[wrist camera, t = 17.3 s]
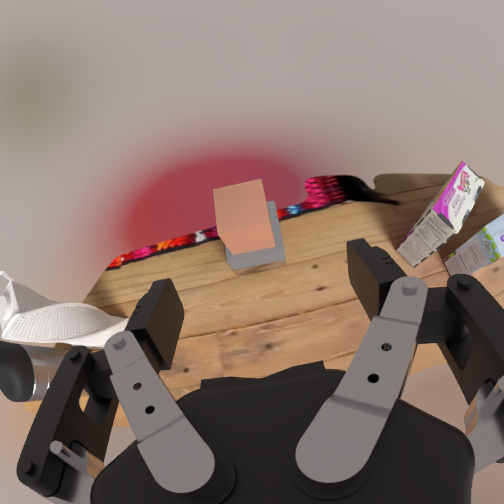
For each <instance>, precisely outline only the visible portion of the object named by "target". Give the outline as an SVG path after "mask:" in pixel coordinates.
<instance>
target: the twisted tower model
mask: <svg viewBox="0 0 504 504" xmlns="http://www.w3.org/2000/svg"><path fill="white" fill-rule="evenodd" d="M1 274H2V275H3V276H5V277H6V278H7V279H8V280H9V281H10V282H9V284H8V285H7V287H6V288H5V290H4V291H3V293H2V294H1V296H0V324H1V328H2V331H3V333H2V338H3V339H7V340H15V341H25V342H39V343H58V342H62V343H68V344H71V345H72V346H79V345H84V346H86V347H88V348H98V349H102V350H103V349H104V345H105V343H106V341H107V340H108V339H109V338H110V337H111V336H112V335H114V334H116V333H118V332H121V331H124V329H125V327H126V325H127V323H128V321H129V318H125V317H120V316H114V315H109V314H107V313H106V312H104V311H102V310H100V309H98V308H96V307H94V306H91V305H88V304H84V303H78V302H64V303H60V302H55V301H51V300H48V299H46V298H44V297H43V296H41V295H40V294H38V293H36V292H34V291H33V290H31V289H29V288H28V287H25V286H24V285H22V284H20V283H18V282H17V281H15V280H13V279H12V278H10V277H9V276H8V275H7V274H6V273H5V272H4V271H0V275H1Z"/></svg>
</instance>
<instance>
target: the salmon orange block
mask: <svg viewBox="0 0 504 504" xmlns="http://www.w3.org/2000/svg"><path fill="white" fill-rule="evenodd" d="M213 196H214V205H215V214H216V224H217V233H218V235H219V237H220V238H221V239H222V241H223V242H224V244H225V245H226V246H227V248H228V249H229V251H230V252H231V253H232V255H236V254H241V253H246V252H252V251H257V250H262V249H267V248H272V247H276V246H275V241H274V236H273V231H272V225H271V220H270V215H269V210H268V205H267V201H266V197H265V193H264V188H263V184H262V180H261V179H258V180H253V181H248V182H244V183H239V184H235V185H230V186H226V187H221V188H217V189H213Z"/></svg>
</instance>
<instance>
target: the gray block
mask: <svg viewBox="0 0 504 504" xmlns="http://www.w3.org/2000/svg"><path fill="white" fill-rule="evenodd" d="M267 205H268V210H269V215H270V220H271V225H272V231H273V236H274V241H275V246H276V247H272V248H267V249H262V250H257V251H252V252H246V253H241V254H236V255H232V253H231V252H230V251H229V249H228V248H227V246H226V245H225V249H226V257H227V263H228V264H229V265H230V266H231V268H232V269H233V270H235V269H240V268H246V267H251V266H257V265H262V264H267V263H273V262H278V261H283V260H286V258H285V251H284V246H283V241H282V236H281V231H280V226H279V221H278V216H277V211H276V206H275V202H274V201H269V202H267Z"/></svg>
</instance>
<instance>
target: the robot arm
mask: <svg viewBox="0 0 504 504" xmlns="http://www.w3.org/2000/svg"><path fill="white" fill-rule="evenodd" d="M347 259H348V273H349V279H350V282H351V285H352V287H353V289H354V291H355V293H356V294H357V296H358V298H359V300H360V302H361V304H362V306H363V308H364V309H365V311H366V313H367V315H368V317H369V319H370V321H371V323H370V325H369V327H368V330H367V332H366V334H365V336H364V338H363V340H362V342H361V344H360V346H359V348H358V350H357V352H356V354H355V356H354V358H353V360H352V362H351V364H350V366H349V368H348V369H347V371H344V370H338V369H325V367H324V363H323V360H322V361H317V362H313V363H308V364H303V365H298V366H293V367H290V368H288V369H285V370H283V371H280V372H278V373H275V374H272V375H270V376H267V377H264V378H242V377H222V378H213V379H203V380H201V386H200V389H198V390H195V391H192V392H190V393H188V394H186V395H185V396H183V397H181V398H180V399H179V400H177V401H176V400H175V398H174V397H173V395H172V394H171V392H170V391H169V389H168V388H167V386H166V385H165V384H164V382H163V380H162V379H161V377H160V376H159V372H160V370H170V369H171V365H172V361H173V357H174V353H175V349H176V346H177V342H178V338H179V335H180V331H181V327H182V324H183V320H184V309H183V305H182V303H181V301H180V298H179V296H178V294H177V291H176V289H175V287H174V284H173V282H172V280H171V279H170V278H167V279H162V280H157V281H154V282H153V284H152V286H151V288H150V290H149V292H148V293H146V294H145V295H144V296H143V297H142V298H141V299H140V300H139V302H138V303H137V305H136V309H134V311H133V314H132V315H131V317H130V319H129V321H128V323H127V325H126V327H125V329H124V331H121V332H118V333H116V334H114V335H112V336H111V337H110V338H109V339H108V340H107V341H106V343H105V345H104V349H103V350H100V351H97V352H94V353H91V352H90V351H89V349H88V348H87V347H86V346H84V345H79V346H76V347H74V348H72V349H61V348H50V347H40V346H31V345H23V344H15V343H9V342H5V341H0V389H1V391H2V392H3V394H4V395H5V396H6V397H7V398H8V399H9V400H11V401H14V402H28V401H41V400H43V401H42V403H41V405H40V407H39V410H38V412H37V414H36V417H35V419H34V421H33V424H32V426H31V429H30V431H29V434H28V436H27V439H26V442H25V444H24V447H23V449H22V452H21V455H20V458H19V461H18V464H17V476H18V479H19V480H20V481H21V482H22V483H23V484H25V485H26V486H28V487H29V488H31V489H32V490H34V491H36V492H37V493H38V494H39V495H41V496H42V497H44V498H46V499H48V500H49V501H51V502H53V503H55V504H471V488H472V480H473V475H474V474H475V473H476V472H478V471H480V470H482V469H484V468H486V467H487V466H489V465H491V464H492V463H494V462H497V463H504V309H503V308H502V307H501V306H500V304H499V303H498V302H497V301H496V300H495V299H494V298H493V296H492V295H491V294H490V293H489V292H488V291H487V290H486V289H485V288H484V286H483V285H482V284H481V283H480V282H479V281H478V280H477V279H476V278H474V277H473V276H471V275H468V274H454V275H452V276H451V277H449V279H448V281H447V287H436V288H428V286H427V284H426V283H425V282H424V281H423V280H421V279H419V278H416V277H410V276H407V275H406V274H405V272H404V271H403V270H402V269H401V268H400V267H399V265H398V264H397V263H396V262H395V261H394V260H393V259H392V258H391V257H390V255H389V254H388V253H387V252H386V251H385V250H383V249H381V248H379V247H377V246H375V247H371V246H370V245H369V244H368V243H367V242H366V240H365V239H364V238H361V239H356V240H352V241H347ZM428 343H437V344H438V346H439V348H440V350H441V351H442V353H443V355H444V357H445V359H446V361H447V362H448V364H449V366H450V368H451V370H452V372H453V374H454V376H455V378H456V380H457V382H458V384H459V386H460V388H461V390H462V392H463V394H464V396H465V399H466V401H467V403H468V405H469V407H468V409H467V410H466V413H465V416H464V423H465V428H466V434H464V433H463V432H462V431H460V430H459V429H457V428H456V427H454V426H452V425H450V424H448V423H446V422H444V421H442V420H440V419H438V418H436V417H434V416H432V415H430V414H428V413H426V412H424V411H422V410H420V409H419V408H417V407H415V406H413V405H410V404H409V403H407V402H405V401H403V400H402V399H401V398H402V395H403V392H404V389H405V386H406V382H407V380H408V376H409V373H410V370H411V367H412V364H413V360H414V357H415V354H416V350H417V346H418V344H428ZM86 395H89V399H88V402H87V404H86V407H85V410H84V412H83V411H82V410H81V408H80V405H79V399H80V396H86ZM119 401H120V404H121V406H122V408H123V411H124V413H125V415H126V417H127V419H128V422H129V424H130V426H131V428H132V430H133V432H134V434H135V436H136V438H137V439H136V440H135V441H134V442H133V443H132V444H131V445H129V446H128V447H127V448H126V449H125V450H124V451H123V452H122V453H121V454H120V455H118V456H117V457H116V458H115V459H114V460H113V461H112V462H111V463H110V464H108V465H107V466H106V467H105V466H104V464H103V463H104V458H105V454H106V449H107V445H108V441H109V437H110V433H111V429H112V426H113V422H114V418H115V414H116V411H117V407H118V404H119Z"/></svg>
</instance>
